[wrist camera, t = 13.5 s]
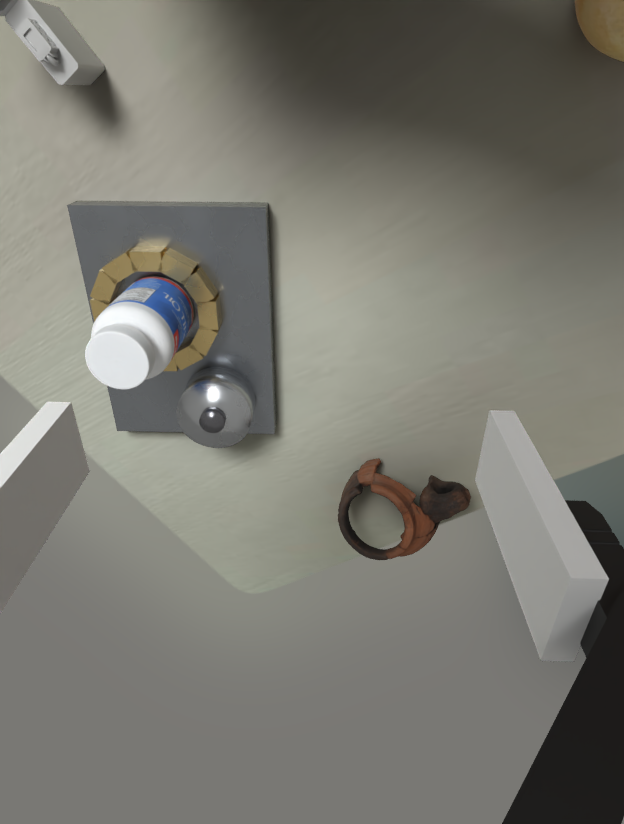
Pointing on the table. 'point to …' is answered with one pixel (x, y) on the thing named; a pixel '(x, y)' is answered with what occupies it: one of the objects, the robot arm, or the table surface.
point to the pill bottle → (139, 332)
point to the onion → (603, 25)
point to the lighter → (53, 41)
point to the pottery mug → (402, 509)
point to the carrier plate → (212, 304)
